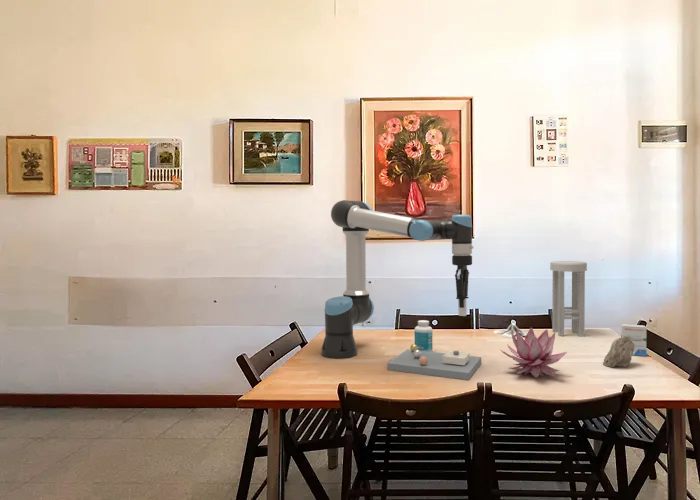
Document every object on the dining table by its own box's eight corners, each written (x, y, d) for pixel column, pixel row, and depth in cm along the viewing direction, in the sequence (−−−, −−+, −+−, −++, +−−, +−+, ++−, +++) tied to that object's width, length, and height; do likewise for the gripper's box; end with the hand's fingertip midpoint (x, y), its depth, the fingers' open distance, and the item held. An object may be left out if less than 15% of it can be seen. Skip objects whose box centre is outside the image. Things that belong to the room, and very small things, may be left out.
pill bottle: (432, 355, 193) (432, 323, 192) (414, 355, 194) (413, 322, 194) (432, 351, 200) (432, 319, 200) (415, 350, 202) (414, 319, 201)
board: (387, 369, 175) (387, 363, 174) (407, 355, 194) (407, 349, 194) (468, 380, 161) (468, 373, 161) (481, 363, 181) (481, 357, 181)
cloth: (544, 338, 222) (544, 325, 222) (508, 341, 218) (508, 328, 218) (517, 329, 244) (517, 317, 243) (484, 331, 240) (484, 319, 239)
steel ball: (412, 358, 180) (411, 350, 180) (414, 356, 183) (414, 348, 183) (420, 359, 179) (419, 351, 178) (422, 357, 181) (422, 349, 181)
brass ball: (409, 352, 189) (409, 344, 189) (411, 350, 192) (411, 342, 192) (416, 353, 187) (416, 345, 187) (419, 351, 190) (419, 343, 190)
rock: (628, 355, 167) (605, 344, 172) (619, 378, 171) (597, 366, 177) (643, 340, 175) (620, 330, 181) (634, 362, 180) (613, 352, 185)
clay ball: (417, 365, 171) (417, 356, 170) (420, 363, 173) (420, 354, 173) (426, 366, 169) (426, 357, 169) (429, 364, 172) (428, 355, 172)
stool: (546, 330, 237) (547, 261, 236) (579, 330, 235) (579, 260, 234) (555, 337, 222) (556, 263, 221) (590, 337, 220) (591, 263, 219)
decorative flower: (560, 386, 153) (561, 341, 152) (494, 376, 164) (494, 334, 164) (569, 369, 171) (569, 328, 170) (509, 361, 182) (509, 323, 182)
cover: (442, 362, 172) (442, 352, 172) (448, 357, 179) (448, 347, 179) (464, 365, 169) (464, 355, 168) (469, 359, 176) (469, 350, 176)
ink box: (644, 353, 191) (644, 325, 191) (646, 356, 187) (646, 327, 186) (620, 351, 195) (620, 323, 194) (621, 354, 190) (622, 325, 190)
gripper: (468, 255, 174) (468, 319, 175) (475, 254, 185) (475, 313, 186) (447, 255, 177) (448, 317, 178) (456, 253, 189) (457, 312, 190)
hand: (462, 315), depth 182 cm, fingers closed
